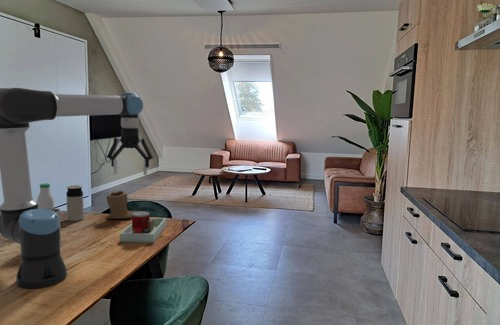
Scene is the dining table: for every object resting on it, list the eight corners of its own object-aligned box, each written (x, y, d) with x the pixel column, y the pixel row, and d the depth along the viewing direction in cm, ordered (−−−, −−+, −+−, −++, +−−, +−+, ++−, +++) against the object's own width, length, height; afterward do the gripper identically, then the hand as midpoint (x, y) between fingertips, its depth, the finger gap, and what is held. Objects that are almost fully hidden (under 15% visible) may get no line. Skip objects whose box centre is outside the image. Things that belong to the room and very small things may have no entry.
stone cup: (103, 221, 196) (103, 193, 194) (109, 215, 208) (108, 189, 206) (133, 221, 198) (132, 193, 196) (137, 215, 210) (137, 189, 208)
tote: (153, 243, 165) (153, 234, 165) (119, 242, 165) (119, 233, 165) (166, 225, 191) (166, 218, 191) (137, 225, 191) (137, 217, 190)
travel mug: (83, 220, 197) (82, 187, 194) (66, 222, 194) (65, 188, 191) (84, 216, 204) (83, 184, 202) (68, 218, 201) (66, 185, 199)
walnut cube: (140, 231, 179) (140, 221, 178) (143, 228, 184) (143, 218, 183) (150, 231, 179) (150, 221, 178) (153, 228, 184) (153, 218, 183)
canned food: (145, 239, 168) (144, 216, 166) (128, 238, 169) (128, 214, 168) (152, 234, 175) (152, 211, 174) (137, 233, 177) (137, 210, 175)
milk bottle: (57, 221, 195) (56, 183, 192) (43, 224, 188) (41, 185, 186) (49, 218, 199) (47, 182, 197) (34, 222, 193) (32, 184, 190)
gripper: (159, 128, 170) (159, 173, 173) (105, 126, 170) (106, 172, 173) (155, 128, 163) (155, 176, 165) (98, 126, 163) (99, 174, 165)
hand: (130, 174), depth 169 cm, fingers open, 13 cm apart
